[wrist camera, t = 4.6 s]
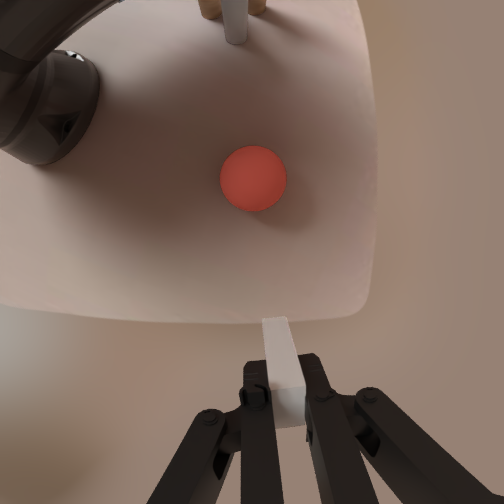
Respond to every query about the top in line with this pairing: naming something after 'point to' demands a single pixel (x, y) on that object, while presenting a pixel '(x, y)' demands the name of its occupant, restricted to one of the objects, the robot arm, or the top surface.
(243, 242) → the top surface
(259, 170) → the ball
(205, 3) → the pin
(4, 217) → the top surface
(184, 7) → the top surface
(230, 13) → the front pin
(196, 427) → the robot arm
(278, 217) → the top surface
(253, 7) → the pin
